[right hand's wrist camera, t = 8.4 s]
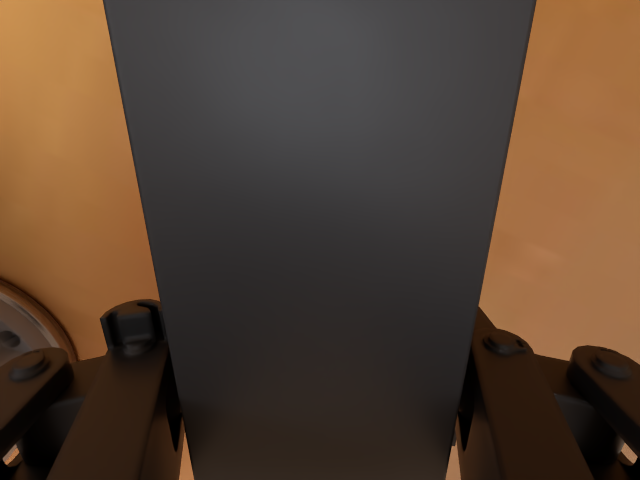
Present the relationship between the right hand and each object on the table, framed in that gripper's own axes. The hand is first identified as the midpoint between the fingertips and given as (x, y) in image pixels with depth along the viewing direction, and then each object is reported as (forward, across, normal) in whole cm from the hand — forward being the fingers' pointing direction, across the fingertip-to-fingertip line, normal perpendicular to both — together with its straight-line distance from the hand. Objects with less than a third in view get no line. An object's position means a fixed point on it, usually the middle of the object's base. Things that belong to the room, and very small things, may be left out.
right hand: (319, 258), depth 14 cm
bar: (+1, 0, -9) cm, 9 cm away
